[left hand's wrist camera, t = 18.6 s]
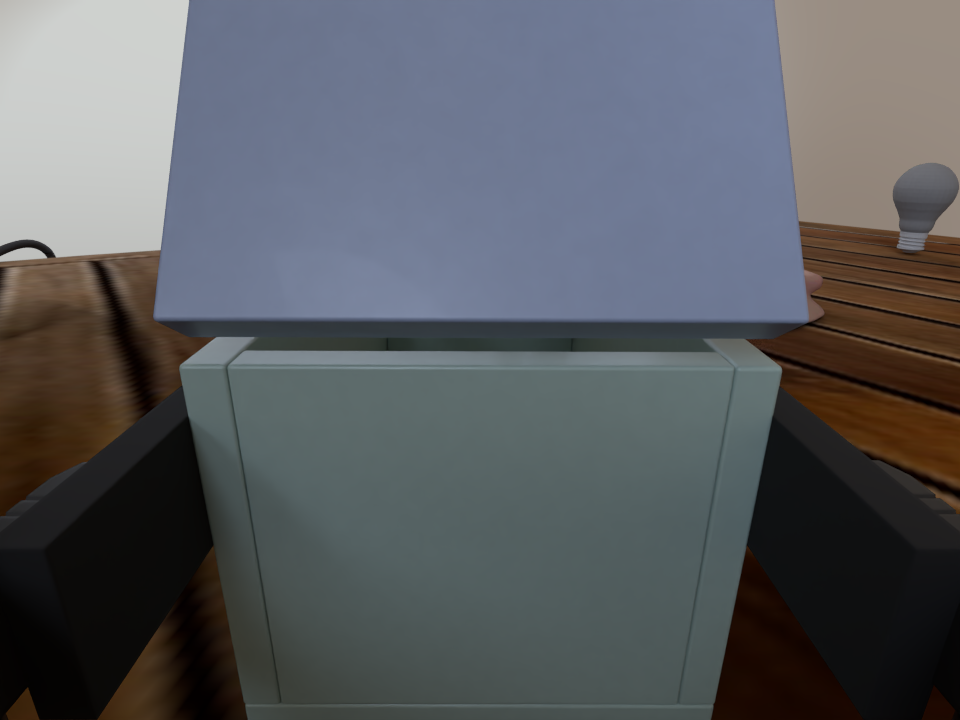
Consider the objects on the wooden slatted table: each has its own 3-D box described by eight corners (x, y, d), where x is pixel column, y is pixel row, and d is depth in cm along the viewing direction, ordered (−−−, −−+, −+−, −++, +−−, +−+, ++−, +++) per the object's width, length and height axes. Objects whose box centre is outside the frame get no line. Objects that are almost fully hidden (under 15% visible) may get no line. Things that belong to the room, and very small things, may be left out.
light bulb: (892, 255, 67) (914, 163, 64) (870, 247, 73) (890, 162, 69) (951, 257, 66) (977, 164, 62) (925, 248, 71) (948, 162, 68)
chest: (376, 400, 29) (364, 222, 26) (582, 401, 29) (595, 223, 26) (248, 731, 13) (176, 365, 10) (710, 732, 13) (785, 367, 10)
